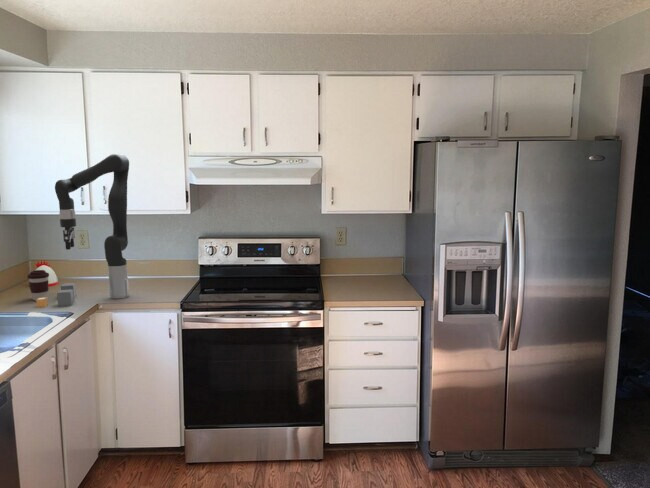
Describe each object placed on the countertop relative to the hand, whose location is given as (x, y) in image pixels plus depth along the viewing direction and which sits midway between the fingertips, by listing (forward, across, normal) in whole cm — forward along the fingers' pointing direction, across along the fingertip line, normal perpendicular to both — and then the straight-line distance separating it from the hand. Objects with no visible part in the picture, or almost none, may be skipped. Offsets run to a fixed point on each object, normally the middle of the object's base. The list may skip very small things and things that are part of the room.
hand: (70, 248), depth 280 cm
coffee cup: (+26, -2, +16) cm, 31 cm away
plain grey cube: (+26, -2, +2) cm, 26 cm away
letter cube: (+26, -18, +11) cm, 34 cm away
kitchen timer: (+26, +35, +23) cm, 50 cm away
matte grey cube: (+26, -18, 0) cm, 32 cm away
